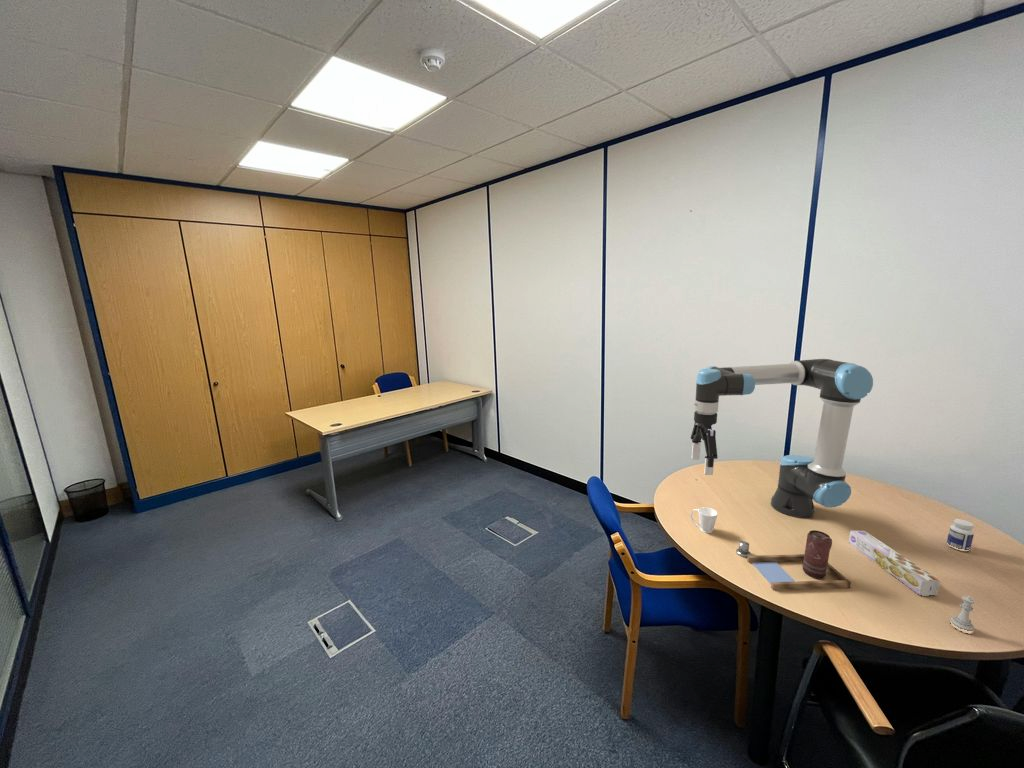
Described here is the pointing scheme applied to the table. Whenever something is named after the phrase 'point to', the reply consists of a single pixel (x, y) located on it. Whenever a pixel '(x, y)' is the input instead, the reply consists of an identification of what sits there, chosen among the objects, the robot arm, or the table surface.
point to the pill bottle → (961, 534)
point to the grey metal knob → (743, 549)
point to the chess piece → (964, 615)
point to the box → (895, 563)
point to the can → (817, 554)
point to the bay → (838, 583)
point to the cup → (705, 519)
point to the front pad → (772, 572)
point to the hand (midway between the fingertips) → (701, 466)
